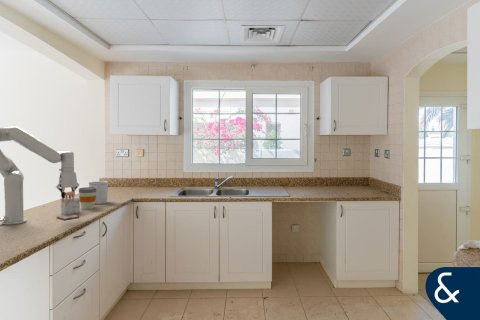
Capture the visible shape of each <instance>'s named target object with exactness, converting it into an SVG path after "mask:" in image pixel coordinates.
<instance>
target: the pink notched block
mask: <svg viewBox="0 0 480 320" xmlns="http://www.w3.org/2000/svg"><path fill="white" fill-rule="evenodd" d="M64 192H65V203H68V198H69V202H70V201H71V195H72V202H74V197H75V195H74V192H73V191H72V190H67V191H66V190H64ZM61 198H62V197H61ZM62 202H64V198H62Z"/></svg>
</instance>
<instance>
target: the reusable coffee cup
mask: <svg viewBox="0 0 480 320" xmlns="http://www.w3.org/2000/svg"><path fill="white" fill-rule="evenodd" d="M78 198H80V209H82V210H84V209H85V210H88V209H93V208H95V204H94V203H95V200H96V188H94V187H89V186H87V187H78Z"/></svg>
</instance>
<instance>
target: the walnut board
mask: <svg viewBox="0 0 480 320" xmlns="http://www.w3.org/2000/svg"><path fill="white" fill-rule="evenodd" d="M56 219H58V220H62V221H68V220H74V219H80V216H79V215H76V214H74V213H72V214H63V215H58V216H56Z"/></svg>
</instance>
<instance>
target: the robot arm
mask: <svg viewBox="0 0 480 320" xmlns="http://www.w3.org/2000/svg"><path fill="white" fill-rule="evenodd" d="M11 141H13V142H15V143H16V144H18V145H20V146H21V147H23V148H25V149H26V150H28V151H30V152H32V153H34V154H36V155H37V156H39V157H40V158H42V159H44V160H46V161H48V162H49V163H51V164H57V163H60V164H61V165H60V167H61V168H59V172H60V173H59V177H58V184H57V185H56V186H55V188H56V190H58V191H59V192H60V197H61V198H65V191H66V188H67V189H68V188H70V189H71V191H73V192H74V196H75V195H76V190H77V189H78V188H79V187H80V183H78V178H77V173H76V172H75V153H74V152H73V151H57V150H54V149H53V148H51V147H50V146H48V145H47V144H45V143H44V142H42V141H41V140H40V139H39V138H37V137H35V136H34V135H32V134H31V133H29V132H27V131H25V130H24V129H22V128H21V127H19V126H16V125H15V126H14V125H13V126H10V127H9V126H8V127H0V142H11ZM0 175H1V176H2V177H3V179H4V180H3V187H4V189H3V191H4V215H3V216H1V217H0V222H1V224H2V225H20V224H24V223H26V222H27V218H24V179H25V177H24V174H23V172H22V171H21V170H20V169H19V168H18V166H17V165H16V163H15V162H14V160H12V159H11V158H10V157H8V156H6V155H5V154H4V152H3V150H2V149H0ZM71 197H72V195H71Z"/></svg>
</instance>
